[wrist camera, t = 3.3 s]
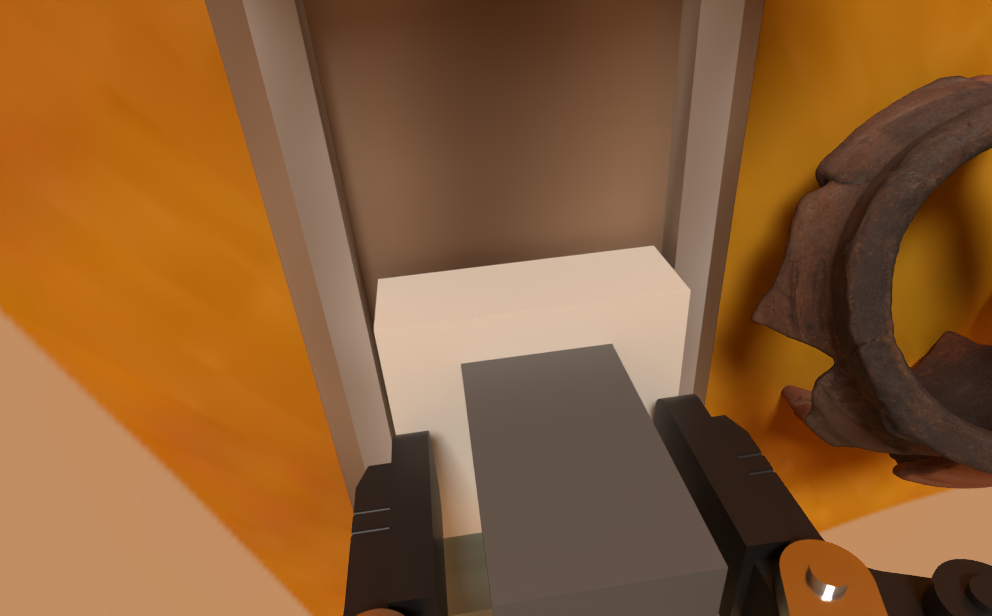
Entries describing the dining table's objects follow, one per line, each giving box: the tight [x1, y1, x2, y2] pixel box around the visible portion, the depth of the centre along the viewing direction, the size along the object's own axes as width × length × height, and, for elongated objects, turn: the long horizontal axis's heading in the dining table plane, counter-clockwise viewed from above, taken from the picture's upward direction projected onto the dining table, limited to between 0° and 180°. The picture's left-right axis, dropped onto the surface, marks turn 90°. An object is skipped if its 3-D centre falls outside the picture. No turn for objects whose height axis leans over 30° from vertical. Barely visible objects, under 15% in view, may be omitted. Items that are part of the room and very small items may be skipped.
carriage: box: [374, 246, 728, 616], centre depth 11 cm, size 6×6×7 cm
